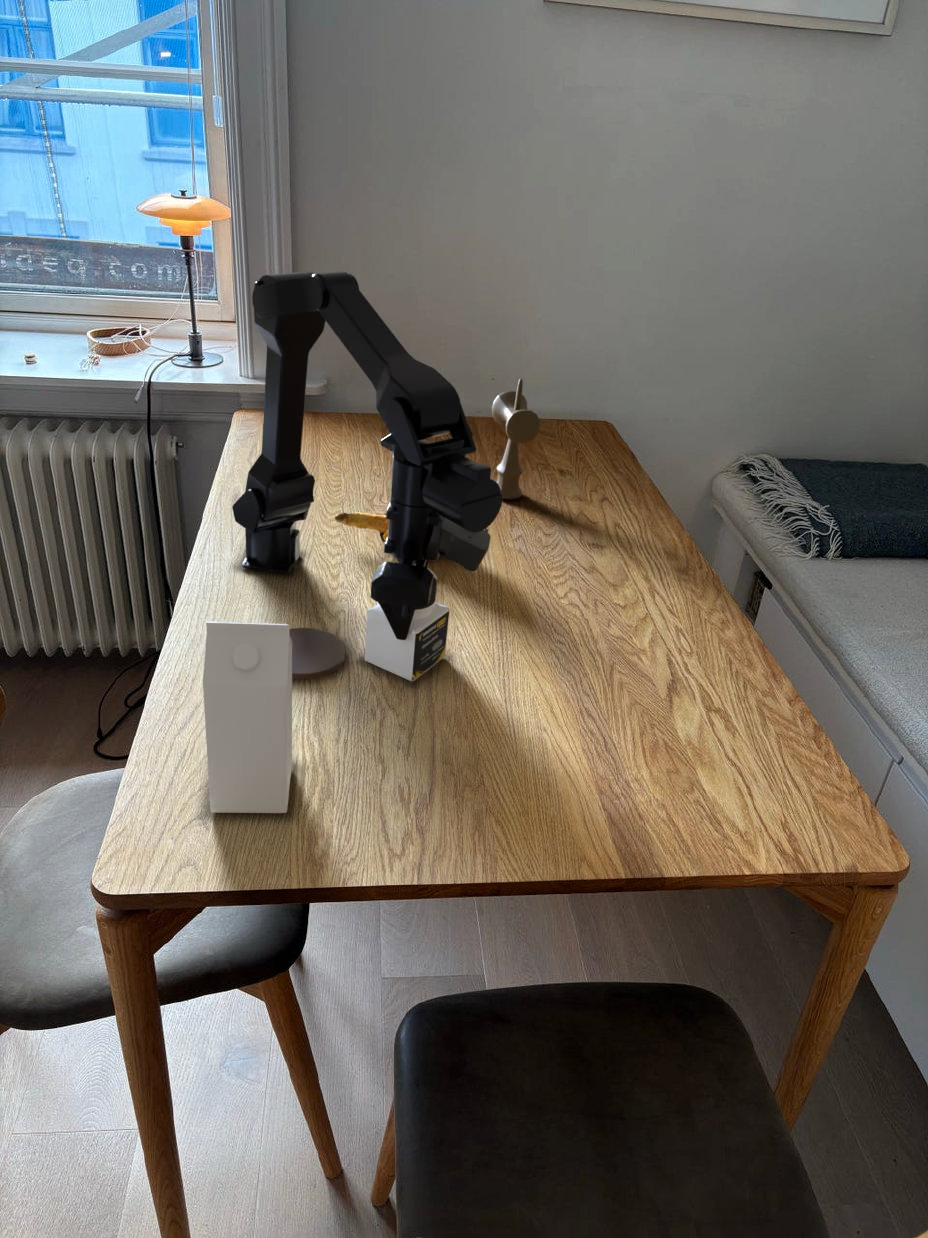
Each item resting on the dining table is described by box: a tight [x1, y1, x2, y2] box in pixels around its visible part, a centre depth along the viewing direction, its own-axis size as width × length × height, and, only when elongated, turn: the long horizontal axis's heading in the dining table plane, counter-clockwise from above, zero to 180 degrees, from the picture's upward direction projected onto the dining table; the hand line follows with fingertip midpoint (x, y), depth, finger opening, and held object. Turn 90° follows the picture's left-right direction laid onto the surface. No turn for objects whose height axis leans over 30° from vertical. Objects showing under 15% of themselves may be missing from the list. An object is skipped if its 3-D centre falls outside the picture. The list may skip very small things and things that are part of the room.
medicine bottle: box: [364, 564, 450, 682], centre depth 111 cm, size 7×7×12 cm
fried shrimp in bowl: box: [334, 512, 442, 558], centre depth 136 cm, size 9×11×18 cm
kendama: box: [491, 378, 541, 500], centre depth 154 cm, size 6×10×20 cm, turn 12°
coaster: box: [289, 627, 346, 680], centre depth 113 cm, size 10×10×1 cm
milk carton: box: [202, 620, 293, 814], centre depth 88 cm, size 7×7×19 cm
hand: (407, 618), depth 112 cm, fingers open, 9 cm apart
